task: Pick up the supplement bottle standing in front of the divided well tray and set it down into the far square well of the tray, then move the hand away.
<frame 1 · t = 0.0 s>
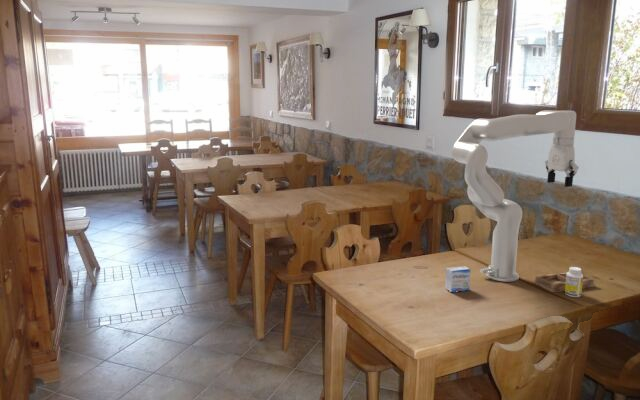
hand: (559, 184, 207), 37 cm above the table, tool pointing down, fingers open, 9 cm apart
supplement bottle: (572, 295, 189), on the table
divided well tray: (564, 285, 199), on the table
medicine box: (457, 290, 195), on the table
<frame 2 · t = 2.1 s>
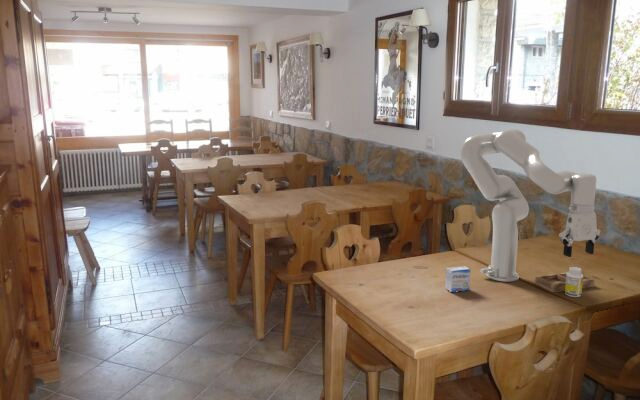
hand: (578, 254, 186), 16 cm above the table, tool pointing down, fingers open, 9 cm apart
nothing on the table moved.
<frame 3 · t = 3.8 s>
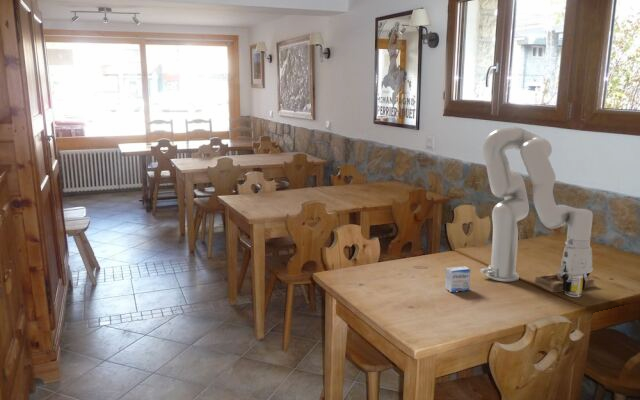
hand: (573, 289, 189), 2 cm above the table, tool pointing down, fingers closed on supplement bottle, 5 cm apart
supplement bottle: (572, 295, 189), on the table, touching gripper
everything else where it was.
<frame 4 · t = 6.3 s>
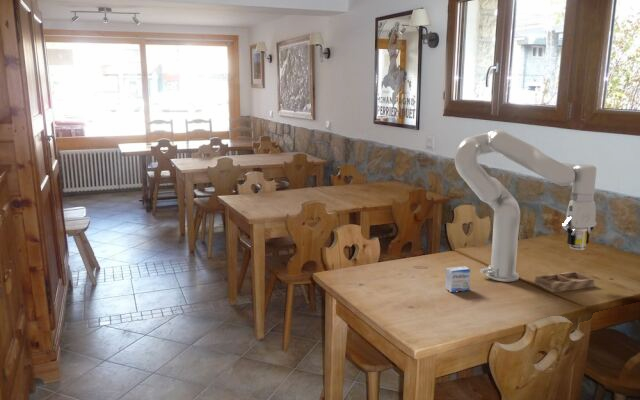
hand: (577, 243, 197), 17 cm above the table, tool pointing down, fingers closed on supplement bottle, 5 cm apart
supplement bottle: (577, 248, 197), point 14 cm above the table, touching gripper
everything else where it was.
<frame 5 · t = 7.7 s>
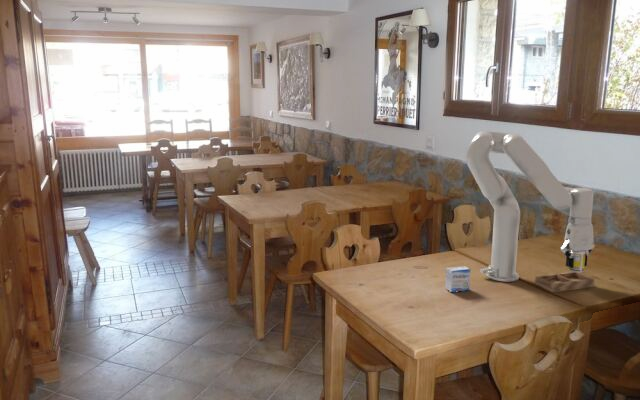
hand: (576, 265, 198), 8 cm above the table, tool pointing down, fingers closed on supplement bottle, 5 cm apart
supplement bottle: (575, 271, 199), point 5 cm above the table, touching gripper
everything else where it was.
when the fingers open (4 cm above the table, at t = 8.8 s): supplement bottle drops 1 cm, resting on divided well tray.
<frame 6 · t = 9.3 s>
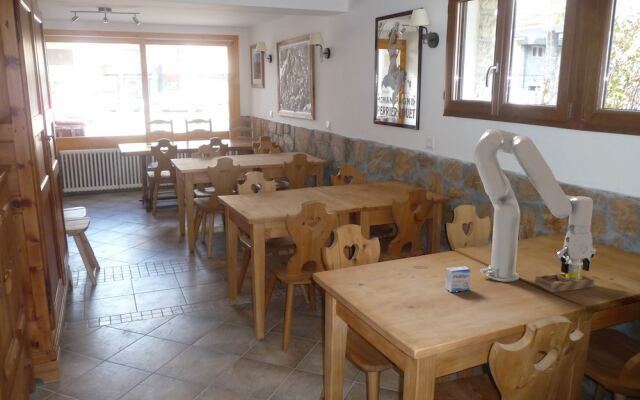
hand: (574, 271, 199), 5 cm above the table, tool pointing down, fingers open, 9 cm apart
supplement bottle: (573, 281, 200), point 1 cm above the table, touching divided well tray
everything else where it was.
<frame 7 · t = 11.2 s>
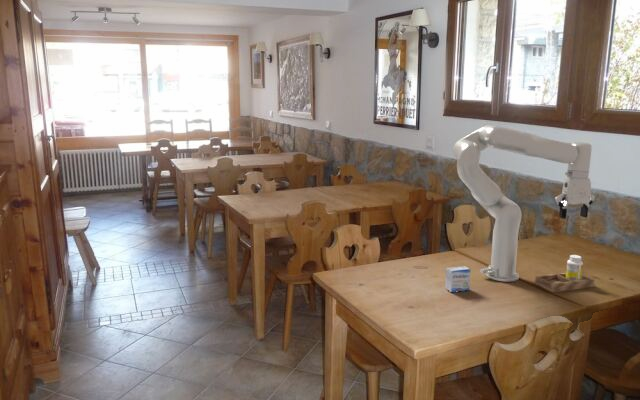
hand: (573, 217, 203), 25 cm above the table, tool pointing down, fingers open, 9 cm apart
nothing on the table moved.
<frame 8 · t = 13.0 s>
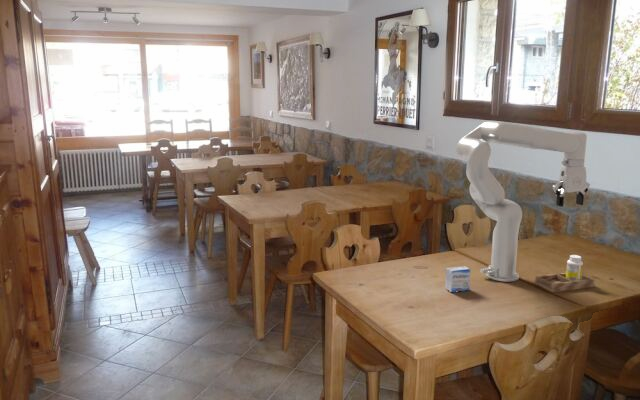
hand: (569, 205, 208), 28 cm above the table, tool pointing down, fingers open, 9 cm apart
nothing on the table moved.
at the end: supplement bottle 0.3 cm from the target spot on the divided well tray, point 0.8 cm above the divided well tray's base; supplement bottle tilted 0°; the gripper is holding nothing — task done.
